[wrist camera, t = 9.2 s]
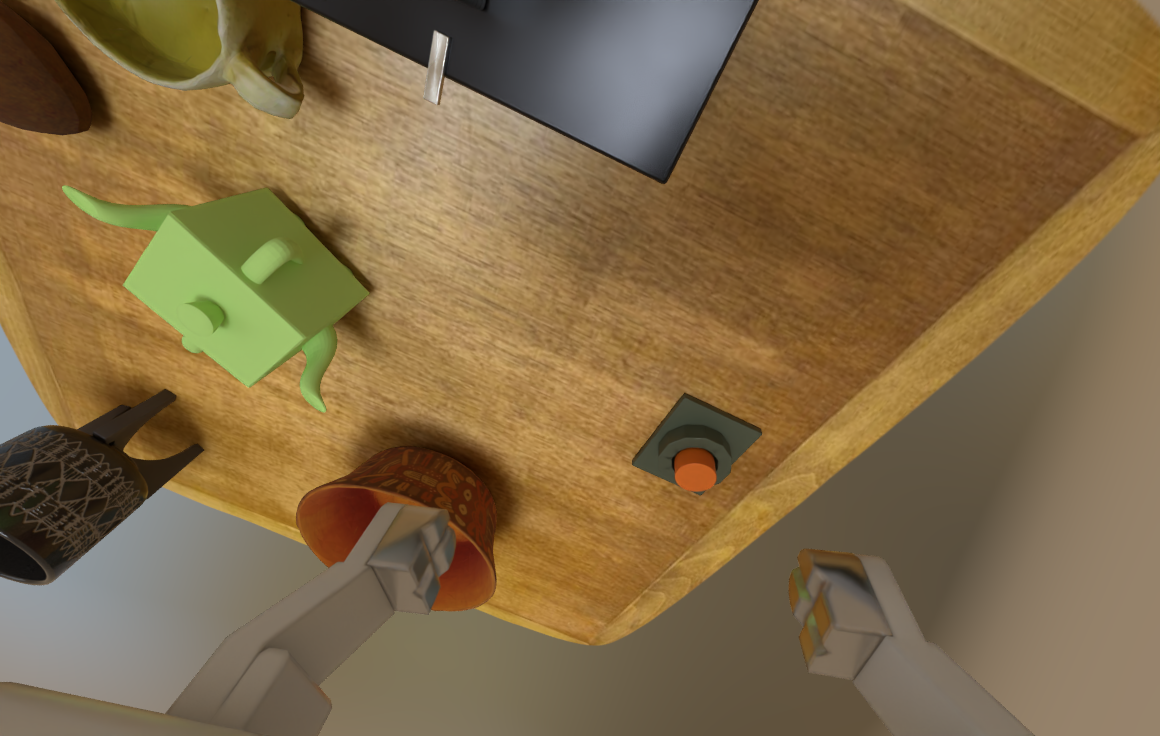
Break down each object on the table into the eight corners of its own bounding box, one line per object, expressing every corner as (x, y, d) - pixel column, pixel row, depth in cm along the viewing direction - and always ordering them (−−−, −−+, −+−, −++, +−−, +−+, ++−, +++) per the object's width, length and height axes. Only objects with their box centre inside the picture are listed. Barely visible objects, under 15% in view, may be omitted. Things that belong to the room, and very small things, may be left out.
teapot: (390, 351, 41) (315, 424, 32) (263, 330, 42) (158, 394, 33) (356, 182, 32) (241, 218, 23) (198, 162, 33) (32, 189, 25)
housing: (684, 392, 38) (685, 410, 36) (761, 429, 39) (766, 448, 37) (632, 460, 43) (630, 478, 41) (700, 490, 44) (701, 510, 42)
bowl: (433, 550, 59) (397, 625, 51) (318, 447, 51) (251, 516, 42) (556, 519, 51) (536, 602, 43) (443, 388, 42) (390, 461, 34)
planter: (141, 443, 57) (-40, 568, 42) (91, 364, 49) (-150, 482, 35) (231, 465, 56) (78, 598, 41) (194, 388, 49) (-7, 517, 34)
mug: (87, -37, 26) (-91, -92, 17) (210, -154, 24) (80, -272, 16) (272, 154, 33) (206, 178, 24) (376, 72, 31) (343, 69, 23)
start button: (687, 441, 38) (688, 457, 36) (722, 457, 38) (725, 474, 37) (667, 465, 40) (667, 481, 38) (700, 480, 41) (701, 497, 39)
